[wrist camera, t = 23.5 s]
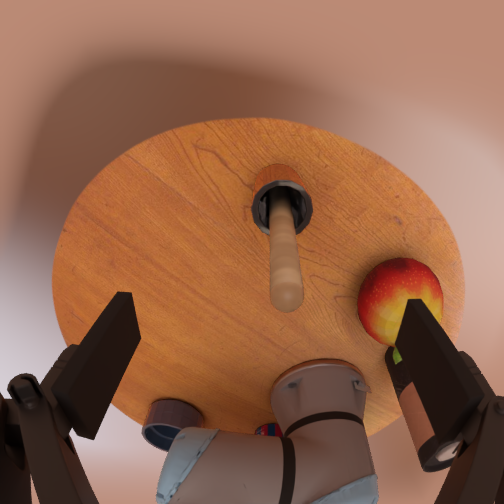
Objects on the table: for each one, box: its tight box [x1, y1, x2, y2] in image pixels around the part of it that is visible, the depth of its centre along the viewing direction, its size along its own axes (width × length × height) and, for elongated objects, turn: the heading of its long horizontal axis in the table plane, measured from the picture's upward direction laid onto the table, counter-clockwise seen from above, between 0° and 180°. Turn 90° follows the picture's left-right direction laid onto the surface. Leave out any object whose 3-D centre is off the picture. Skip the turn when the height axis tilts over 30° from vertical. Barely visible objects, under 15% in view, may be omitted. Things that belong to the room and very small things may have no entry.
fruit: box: [357, 258, 443, 365], centre depth 34 cm, size 11×11×10 cm
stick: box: [269, 186, 304, 313], centre depth 26 cm, size 2×2×19 cm
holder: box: [251, 164, 313, 236], centre depth 30 cm, size 5×5×9 cm
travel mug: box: [385, 346, 463, 472], centre depth 34 cm, size 8×8×20 cm
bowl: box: [142, 399, 204, 452], centre depth 48 cm, size 10×10×6 cm
